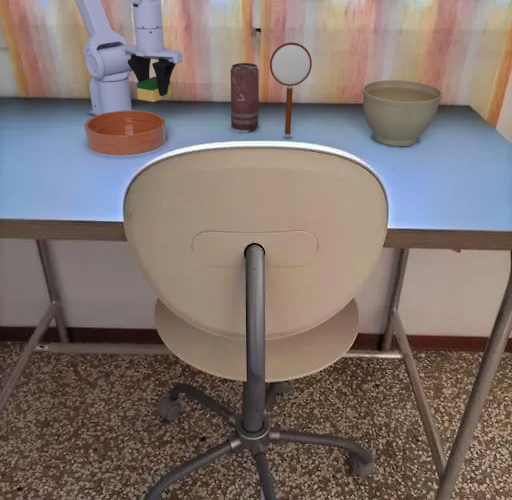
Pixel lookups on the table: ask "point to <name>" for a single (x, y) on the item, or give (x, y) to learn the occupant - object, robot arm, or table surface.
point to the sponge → (150, 90)
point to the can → (244, 96)
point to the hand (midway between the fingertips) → (154, 93)
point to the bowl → (125, 132)
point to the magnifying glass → (290, 71)
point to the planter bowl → (399, 110)
